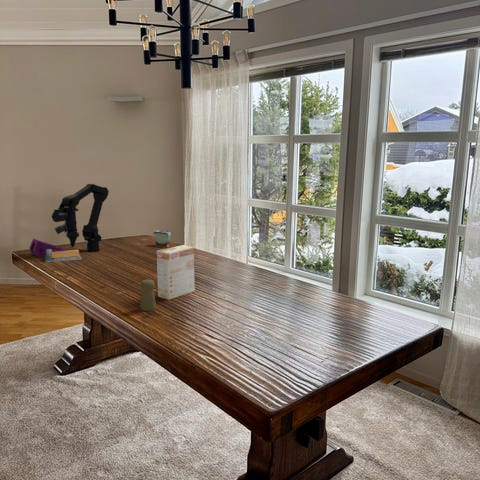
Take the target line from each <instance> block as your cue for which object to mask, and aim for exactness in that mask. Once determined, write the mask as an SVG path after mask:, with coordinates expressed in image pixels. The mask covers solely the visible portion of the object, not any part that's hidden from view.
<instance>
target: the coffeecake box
mask: <svg viewBox="0 0 480 480" xmlns="http://www.w3.org/2000/svg"><path fill="white" fill-rule="evenodd" d="M156 276H157V297H159V298H162V299H165V300H168V301H169V300H172V299H176V298H178V297H181V296H184V295H188V294H190V293H191V294H192V293H193V292H195V291H196V290H195V288H196V287H195V247H194V246H189V245H185V244H182V245H177V246H172V247H169V248H163V249H159V250H156Z"/></svg>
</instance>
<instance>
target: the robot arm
mask: <svg viewBox="0 0 480 480" xmlns="http://www.w3.org/2000/svg"><path fill="white" fill-rule="evenodd" d="M109 192H110V191H109V189H108V188H107V187H106V186H100V185H97V184H95V183H87V184H86V185H85V186H83V188H81V189H79V190H78V191H77V192H74V193H73V194H70V195H67V196H64V197H63V198H62V199H61V200H62V201H61V203H60V205H59V207H58V208H57V209H54V210H53V213H52V214H51V218H52V221H53V222H55V223H61V222H64V223H63V224H61V225H59V226H56V227H55V228H54V231H55V232H56V234H57V235H60V234H61V233H63V232H64V234H65V237H66V238H68V240H69V244H70V247H71V248H74V247H75V245H76V241H77V239H78V238H79V237H80V233H79V231H78V228H77V224H78V223H77V222H78V221H77V215H76V214H77V213H76V212H78V211H79V209H78V208H77V206H78V205H79V204H80V201H81V200H83V199H84V198H86V197H87V196H88V195H90V194H92V197H93V204H92V208H91V212H90V215H89V219H88V223H86V224H84V225H83V227H82V230H81V233H82V235H81V236H83V239H84V241H87V242H86V243H85V244H86V245H85V246H86V251H87V252H88V253H93V252H100V242H101V241H102V238H103V237H102V236H101V235H100V234H99V228H98V224H99V219H100V216H101V215H100V214H101V211H102V208H103V204H104V202H105V201H106V200H107V199H108V195H109Z"/></svg>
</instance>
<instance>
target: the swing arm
mask: <svg viewBox="0 0 480 480" xmlns="http://www.w3.org/2000/svg"><path fill="white" fill-rule="evenodd" d="M79 254H80V250H79V249H70V250H66V251H53V250H52V249H46V258H47V259H52V258H60V257H72V256H79Z"/></svg>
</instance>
